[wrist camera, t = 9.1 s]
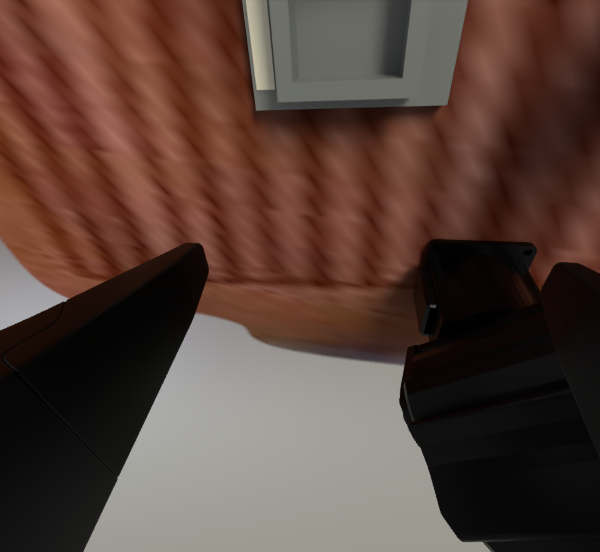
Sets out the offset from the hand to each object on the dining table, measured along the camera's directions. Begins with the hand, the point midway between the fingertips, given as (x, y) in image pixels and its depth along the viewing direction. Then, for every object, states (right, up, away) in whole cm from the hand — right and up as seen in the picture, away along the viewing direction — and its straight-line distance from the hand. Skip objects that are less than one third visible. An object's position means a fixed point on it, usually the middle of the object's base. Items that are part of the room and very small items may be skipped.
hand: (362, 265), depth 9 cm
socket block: (+1, +12, +7) cm, 14 cm away
